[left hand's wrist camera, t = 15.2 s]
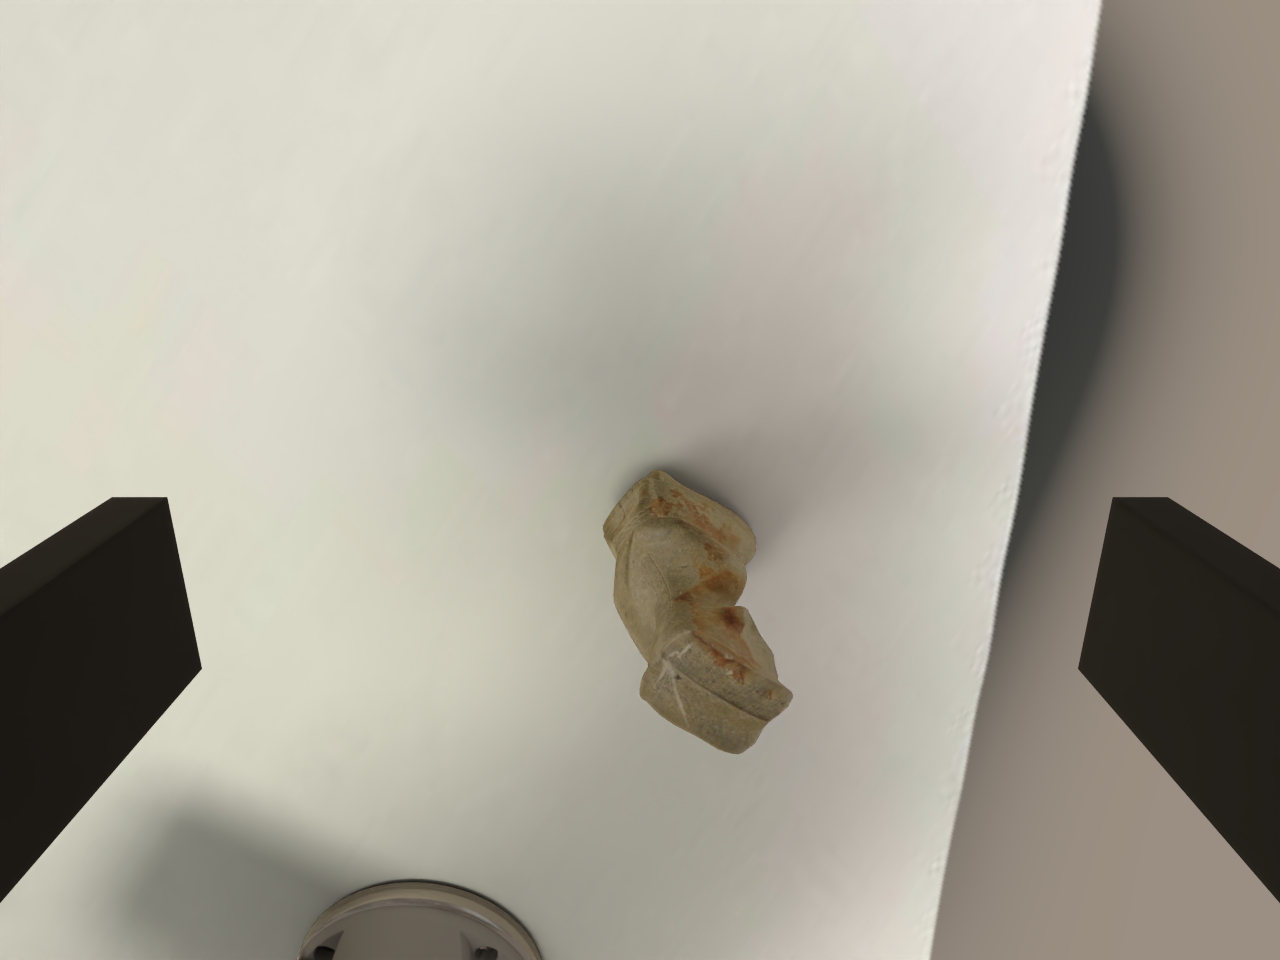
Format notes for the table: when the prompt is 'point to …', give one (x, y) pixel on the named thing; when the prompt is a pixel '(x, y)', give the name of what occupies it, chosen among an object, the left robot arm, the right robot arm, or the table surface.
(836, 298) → the table surface
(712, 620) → the sculpture
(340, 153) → the table surface
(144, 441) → the table surface
